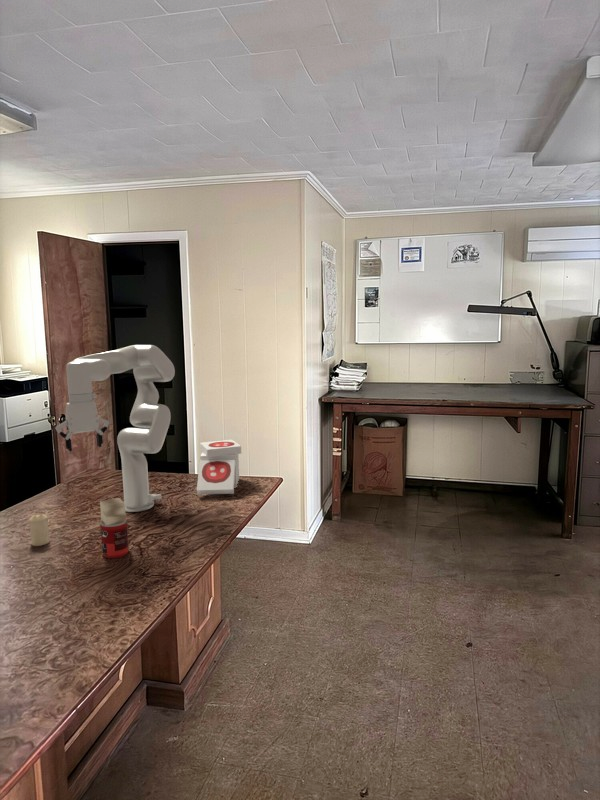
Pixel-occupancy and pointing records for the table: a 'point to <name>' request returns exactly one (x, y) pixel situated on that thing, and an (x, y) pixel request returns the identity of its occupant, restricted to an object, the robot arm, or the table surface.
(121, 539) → the canned food
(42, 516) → the candle
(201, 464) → the pizza boxes
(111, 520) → the birch block
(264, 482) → the table surface
